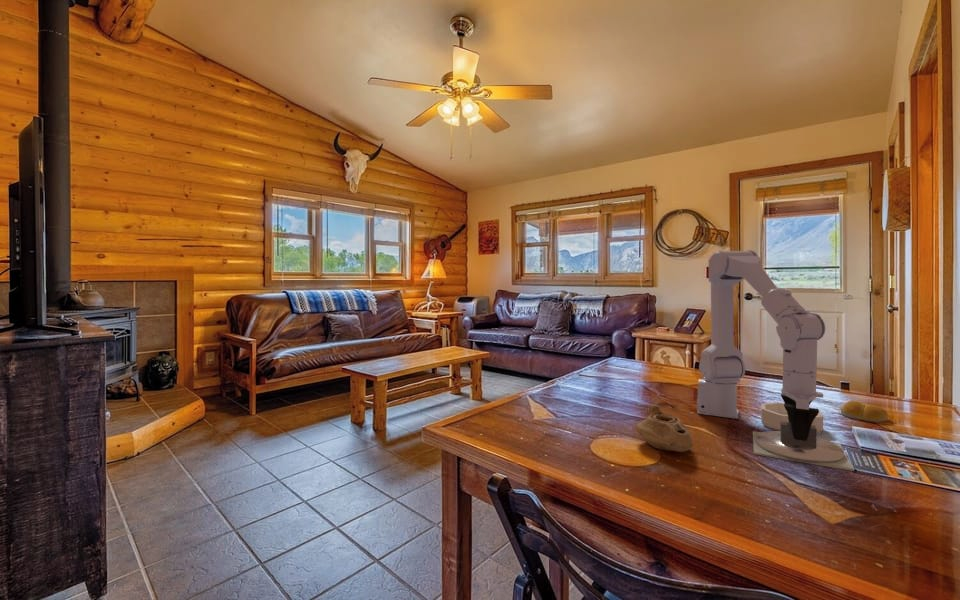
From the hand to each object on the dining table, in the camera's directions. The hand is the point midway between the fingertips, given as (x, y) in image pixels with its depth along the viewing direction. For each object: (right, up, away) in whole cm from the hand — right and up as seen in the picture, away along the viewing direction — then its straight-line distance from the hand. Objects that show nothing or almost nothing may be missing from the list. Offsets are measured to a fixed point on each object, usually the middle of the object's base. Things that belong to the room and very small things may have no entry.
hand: (798, 433), depth 91 cm
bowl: (+9, -3, +15) cm, 17 cm away
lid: (0, -3, 0) cm, 3 cm away
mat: (0, -4, 0) cm, 3 cm away
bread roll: (+32, -2, +20) cm, 38 cm away
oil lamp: (-27, -4, +3) cm, 27 cm away
